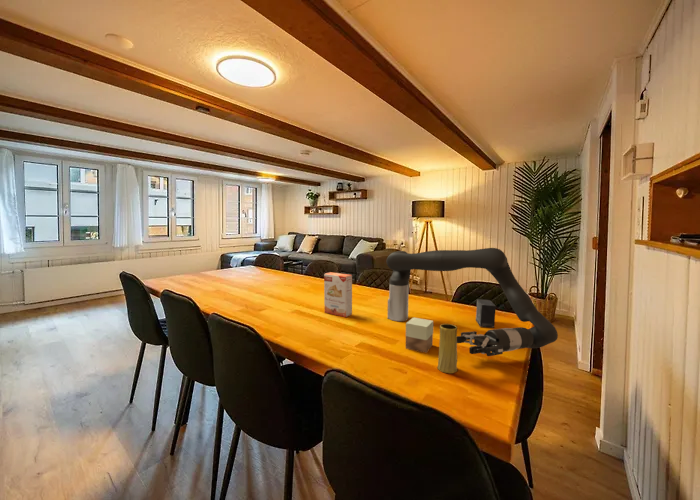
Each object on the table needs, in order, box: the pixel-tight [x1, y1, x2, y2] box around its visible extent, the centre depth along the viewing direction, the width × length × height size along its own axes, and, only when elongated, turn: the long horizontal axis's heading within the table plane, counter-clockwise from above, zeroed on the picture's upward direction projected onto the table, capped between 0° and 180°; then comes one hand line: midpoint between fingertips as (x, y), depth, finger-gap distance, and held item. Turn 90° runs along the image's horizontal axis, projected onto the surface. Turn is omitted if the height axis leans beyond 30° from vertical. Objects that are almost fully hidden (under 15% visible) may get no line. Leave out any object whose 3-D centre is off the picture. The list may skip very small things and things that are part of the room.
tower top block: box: [405, 317, 434, 340], centre depth 116 cm, size 8×8×5 cm
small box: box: [475, 298, 497, 329], centre depth 142 cm, size 11×6×10 cm, turn 168°
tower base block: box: [405, 333, 434, 353], centre depth 117 cm, size 8×8×5 cm
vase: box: [437, 323, 458, 374], centre depth 98 cm, size 6×6×14 cm
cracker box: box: [323, 271, 353, 318], centre depth 157 cm, size 14×6×21 cm, turn 55°
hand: (461, 345), depth 100 cm, fingers open, 8 cm apart
